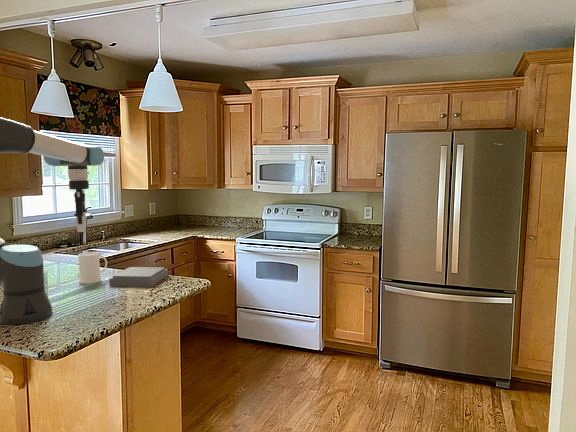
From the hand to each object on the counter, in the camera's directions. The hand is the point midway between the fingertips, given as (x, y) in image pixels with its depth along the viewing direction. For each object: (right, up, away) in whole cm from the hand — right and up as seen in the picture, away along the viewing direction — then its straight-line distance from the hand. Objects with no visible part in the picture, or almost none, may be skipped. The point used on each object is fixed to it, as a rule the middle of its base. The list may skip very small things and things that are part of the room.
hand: (81, 229), depth 191 cm
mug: (+5, -22, +1) cm, 23 cm away
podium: (+25, -22, 0) cm, 33 cm away
